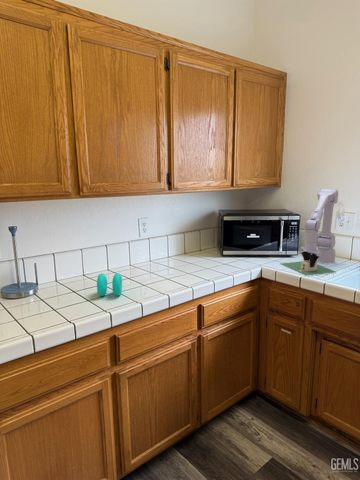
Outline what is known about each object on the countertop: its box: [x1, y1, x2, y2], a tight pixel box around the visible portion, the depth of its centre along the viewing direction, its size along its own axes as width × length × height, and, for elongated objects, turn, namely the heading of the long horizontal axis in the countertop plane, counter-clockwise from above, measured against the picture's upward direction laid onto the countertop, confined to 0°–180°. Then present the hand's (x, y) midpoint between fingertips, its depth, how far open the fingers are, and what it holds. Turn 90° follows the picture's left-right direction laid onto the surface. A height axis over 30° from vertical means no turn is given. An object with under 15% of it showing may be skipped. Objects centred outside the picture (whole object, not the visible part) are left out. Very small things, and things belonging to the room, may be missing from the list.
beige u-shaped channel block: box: [301, 259, 318, 271], centre depth 185 cm, size 7×4×5 cm, turn 107°
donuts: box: [96, 272, 123, 297], centre depth 149 cm, size 10×10×10 cm
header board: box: [279, 260, 337, 277], centre depth 190 cm, size 20×24×3 cm
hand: (309, 265), depth 185 cm, fingers closed on beige u-shaped channel block, 4 cm apart
